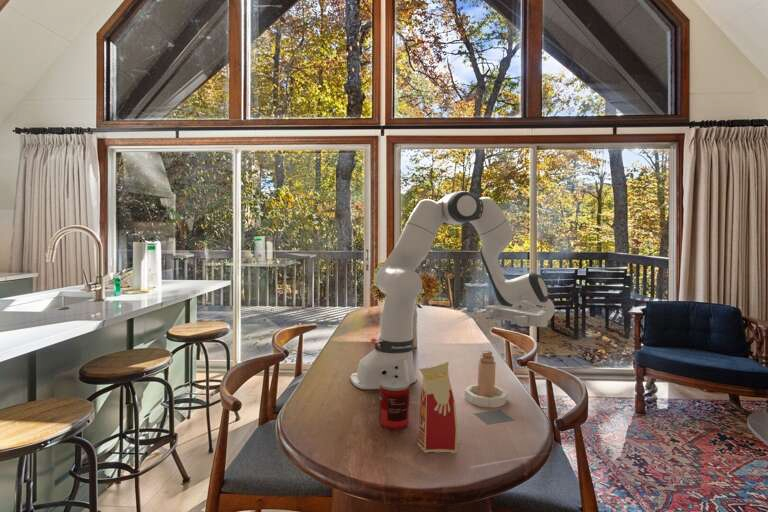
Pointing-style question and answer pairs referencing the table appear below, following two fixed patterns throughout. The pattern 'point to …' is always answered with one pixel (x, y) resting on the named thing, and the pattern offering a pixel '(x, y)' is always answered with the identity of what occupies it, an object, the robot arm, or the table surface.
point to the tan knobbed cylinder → (486, 375)
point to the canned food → (394, 403)
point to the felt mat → (494, 417)
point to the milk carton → (437, 411)
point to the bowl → (495, 401)
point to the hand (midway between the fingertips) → (502, 317)
